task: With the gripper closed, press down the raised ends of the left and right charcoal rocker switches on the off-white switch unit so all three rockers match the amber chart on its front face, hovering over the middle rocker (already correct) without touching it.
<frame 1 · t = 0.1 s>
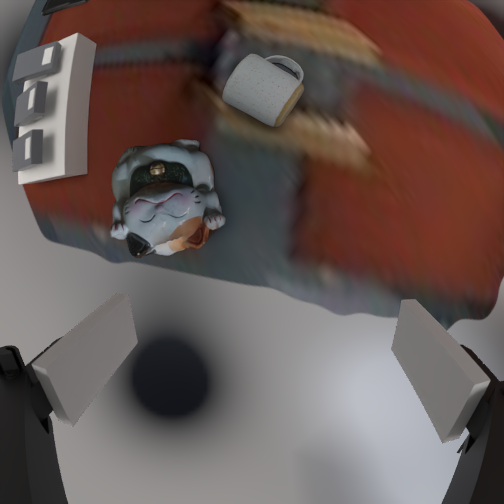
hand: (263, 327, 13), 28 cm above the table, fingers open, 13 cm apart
ceramic mug: (269, 91, 35), on the table
rocker 1: (36, 62, 27), point 9 cm above the table, hinge at 16.0°
rocker 2: (29, 104, 29), point 9 cm above the table, hinge at -16.0°
switch unit: (63, 111, 37), on the table
rocker 3: (26, 151, 31), point 9 cm above the table, hinge at -16.0°
lucky cat figurine: (178, 190, 40), on the table
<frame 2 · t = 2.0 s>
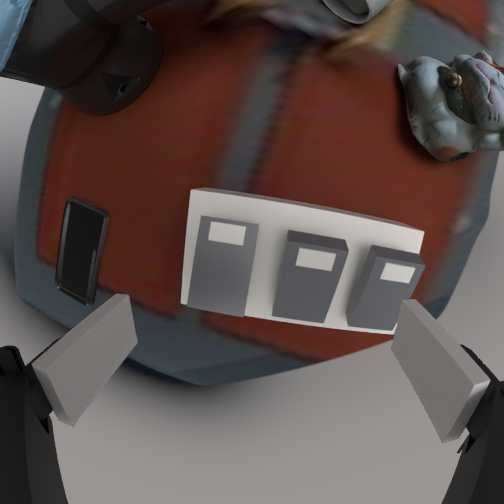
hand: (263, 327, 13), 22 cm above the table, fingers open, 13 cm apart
phone: (82, 251, 37), on the table
rocker 1: (223, 265, 25), point 9 cm above the table, hinge at 16.0°
rocker 2: (307, 280, 25), point 9 cm above the table, hinge at -16.0°
switch unit: (299, 253, 34), on the table
rocker 3: (383, 291, 25), point 9 cm above the table, hinge at -16.0°
lucky cat figurine: (438, 105, 28), on the table
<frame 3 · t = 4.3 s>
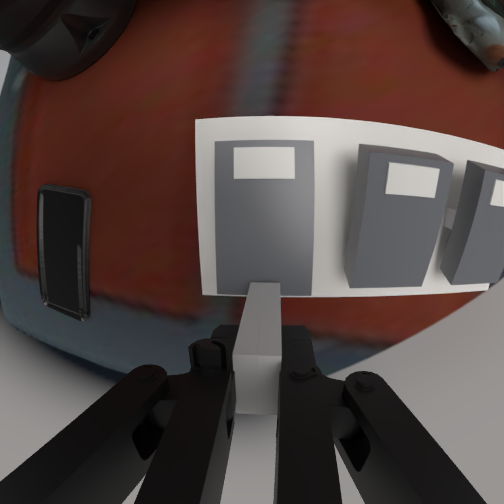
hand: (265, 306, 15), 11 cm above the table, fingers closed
phone: (66, 252, 28), on the table
rocker 1: (264, 217, 15), point 9 cm above the table, hinge at 5.7°, touching gripper
rocker 2: (397, 221, 15), point 9 cm above the table, hinge at -16.0°
switch unit: (355, 201, 23), on the table
rocker 3: (487, 227, 14), point 9 cm above the table, hinge at -16.0°
lucky cat figurine: (461, 16, 16), on the table
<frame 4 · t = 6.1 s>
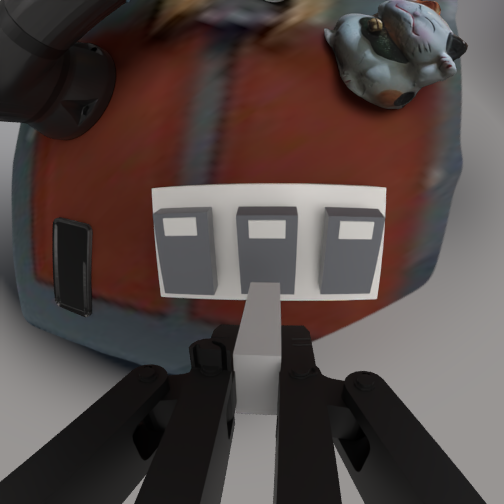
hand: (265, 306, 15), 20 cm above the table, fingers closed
phone: (74, 266, 39), on the table
rocker 1: (186, 252, 27), point 9 cm above the table, hinge at -8.3°
rocker 2: (267, 252, 26), point 9 cm above the table, hinge at -16.0°
switch unit: (269, 233, 35), on the table
rocker 3: (349, 253, 25), point 9 cm above the table, hinge at -16.0°
lucky cat figurine: (376, 58, 28), on the table
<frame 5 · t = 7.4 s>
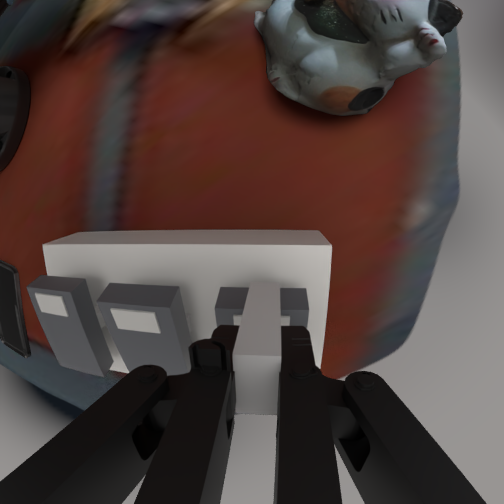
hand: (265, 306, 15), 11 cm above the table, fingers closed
phone: (11, 307, 31), on the table
rocker 1: (69, 327, 19), point 9 cm above the table, hinge at -9.1°
rocker 2: (151, 340, 18), point 9 cm above the table, hinge at -16.0°
switch unit: (187, 292, 27), on the table
rocker 3: (262, 348, 18), point 9 cm above the table, hinge at -14.0°, touching gripper
lucky cat figurine: (333, 44, 21), on the table
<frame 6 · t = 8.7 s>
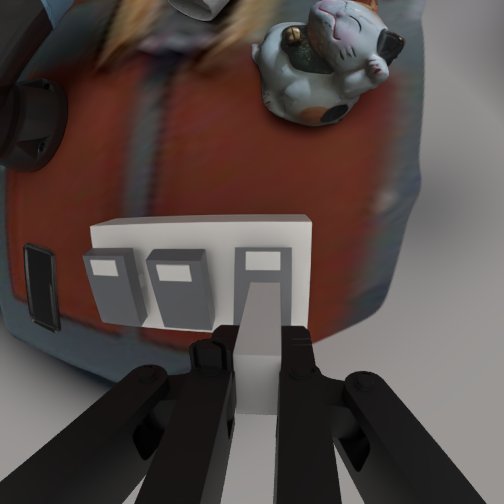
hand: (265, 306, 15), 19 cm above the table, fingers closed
phone: (44, 287, 40), on the table
rocker 1: (115, 288, 27), point 9 cm above the table, hinge at -9.2°
rocker 2: (182, 291, 27), point 9 cm above the table, hinge at -16.0°
switch unit: (205, 264, 35), on the table
rocker 3: (263, 293, 26), point 9 cm above the table, hinge at 22.8°
lucky cat figurine: (313, 68, 29), on the table
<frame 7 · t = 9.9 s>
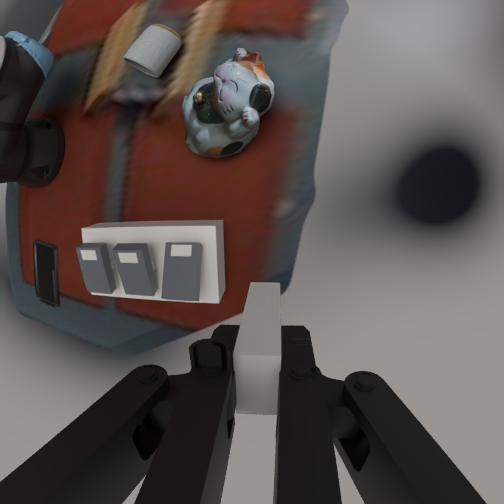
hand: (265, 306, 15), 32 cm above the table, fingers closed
ceramic mug: (155, 56, 41), on the table
phone: (48, 273, 54), on the table
rocker 1: (95, 268, 41), point 9 cm above the table, hinge at -9.2°
rocker 2: (135, 270, 41), point 9 cm above the table, hinge at -16.0°
switch unit: (157, 254, 49), on the table
rocker 3: (181, 271, 40), point 9 cm above the table, hinge at 27.7°
lucky cat figurine: (228, 110, 43), on the table
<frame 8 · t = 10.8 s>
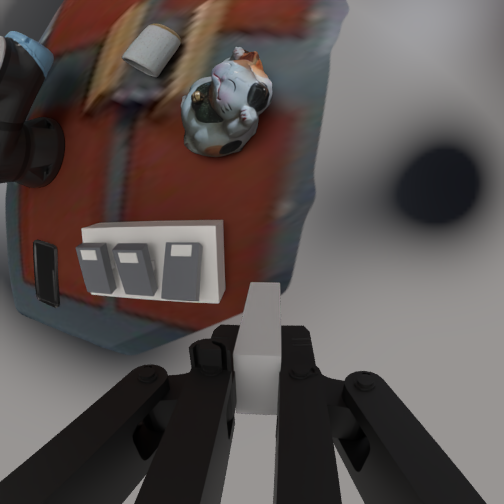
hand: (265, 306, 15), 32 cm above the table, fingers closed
ceramic mug: (154, 56, 41), on the table
phone: (48, 273, 54), on the table
rocker 1: (95, 268, 41), point 9 cm above the table, hinge at -9.3°
rocker 2: (135, 270, 41), point 9 cm above the table, hinge at -16.0°
switch unit: (157, 254, 49), on the table
rocker 3: (181, 271, 40), point 9 cm above the table, hinge at 28.3°, touching switch unit
lucky cat figurine: (227, 109, 43), on the table
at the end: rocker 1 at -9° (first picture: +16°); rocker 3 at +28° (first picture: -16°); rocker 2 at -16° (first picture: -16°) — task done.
